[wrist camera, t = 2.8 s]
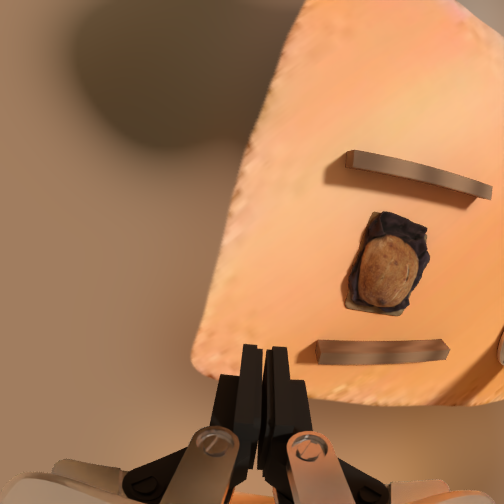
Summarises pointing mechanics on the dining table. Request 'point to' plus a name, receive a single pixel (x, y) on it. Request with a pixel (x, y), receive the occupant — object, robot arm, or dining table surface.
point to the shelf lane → (396, 350)
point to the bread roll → (387, 265)
